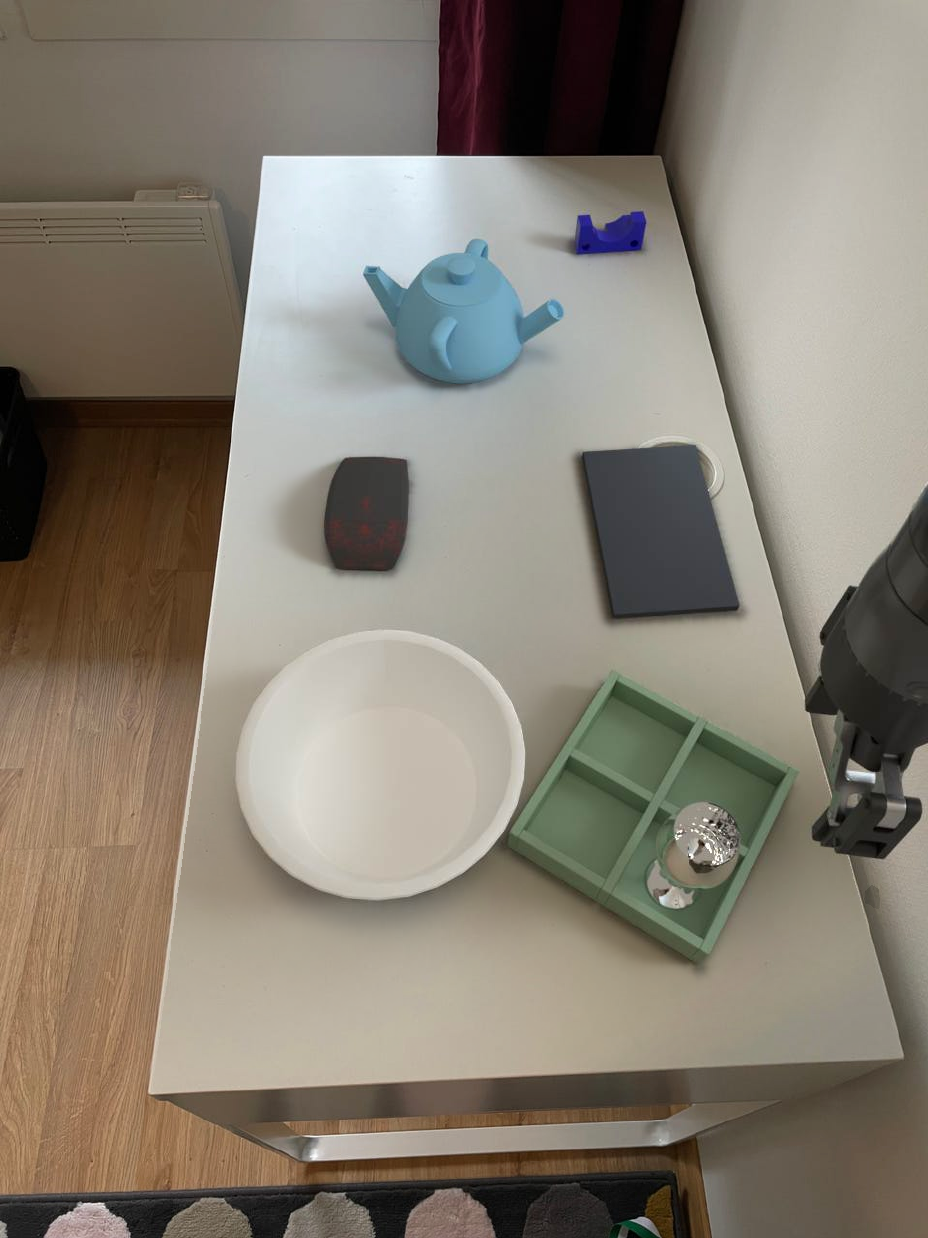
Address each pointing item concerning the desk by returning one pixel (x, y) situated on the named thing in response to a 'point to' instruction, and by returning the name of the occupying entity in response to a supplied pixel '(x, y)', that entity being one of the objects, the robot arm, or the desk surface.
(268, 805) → the bowl
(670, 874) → the wineglass
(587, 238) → the cable holder
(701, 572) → the mat
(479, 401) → the desk surface
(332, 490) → the computer mouse
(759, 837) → the tray
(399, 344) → the teapot
